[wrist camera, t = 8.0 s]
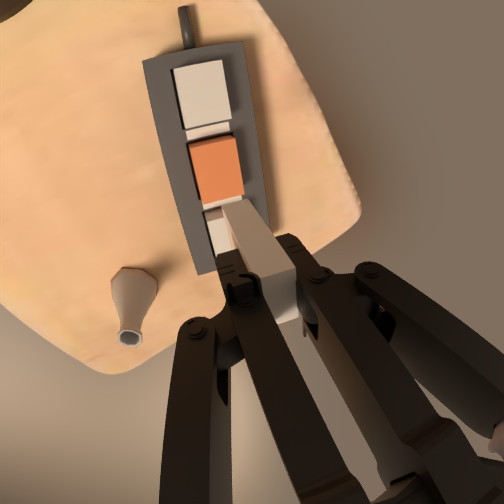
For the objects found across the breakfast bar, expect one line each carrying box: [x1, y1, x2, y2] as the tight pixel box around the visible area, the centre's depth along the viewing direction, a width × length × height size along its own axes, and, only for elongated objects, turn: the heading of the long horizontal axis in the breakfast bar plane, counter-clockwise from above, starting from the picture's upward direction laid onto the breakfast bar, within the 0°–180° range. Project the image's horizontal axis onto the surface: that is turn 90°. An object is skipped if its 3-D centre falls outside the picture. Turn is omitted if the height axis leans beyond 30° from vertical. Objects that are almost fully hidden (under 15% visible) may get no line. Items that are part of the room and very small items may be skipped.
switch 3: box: [204, 207, 232, 256], centre depth 33 cm, size 6×4×4 cm
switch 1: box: [173, 60, 232, 129], centre depth 24 cm, size 6×4×4 cm
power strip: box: [142, 6, 270, 275], centre depth 28 cm, size 32×10×4 cm, turn 8°
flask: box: [111, 268, 157, 347], centre depth 34 cm, size 7×7×10 cm
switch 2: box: [188, 133, 245, 205], centre depth 28 cm, size 6×4×4 cm
